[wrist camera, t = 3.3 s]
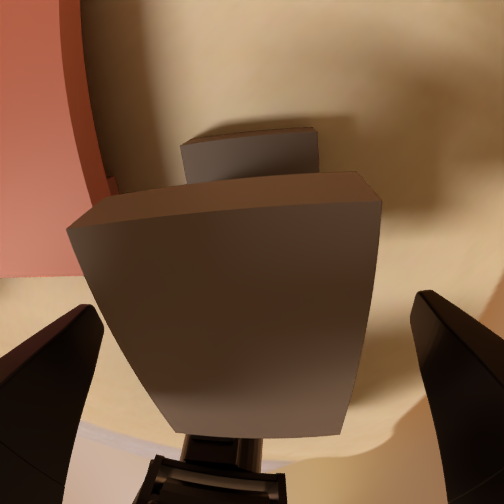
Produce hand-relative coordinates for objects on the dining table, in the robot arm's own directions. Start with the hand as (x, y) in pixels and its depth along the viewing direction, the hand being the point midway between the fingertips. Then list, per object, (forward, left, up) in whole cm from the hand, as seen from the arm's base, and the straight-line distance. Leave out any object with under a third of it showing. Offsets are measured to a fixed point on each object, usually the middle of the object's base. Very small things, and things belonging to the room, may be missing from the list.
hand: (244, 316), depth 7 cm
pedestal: (0, 0, -7) cm, 7 cm away
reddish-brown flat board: (+8, +13, -7) cm, 17 cm away
